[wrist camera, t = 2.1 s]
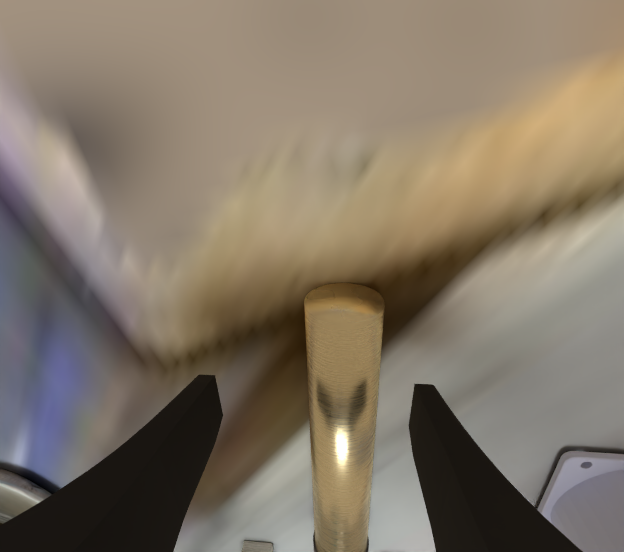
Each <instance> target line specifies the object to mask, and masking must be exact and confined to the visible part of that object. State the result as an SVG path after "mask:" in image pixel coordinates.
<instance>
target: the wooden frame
mask: <svg viewBox="0 0 624 552" xmlns="http://www.w3.org/2000/svg"><path fill="white" fill-rule="evenodd" d="M242 552H273V545H272V543H264V542H254V541H244V544H243V548H242Z"/></svg>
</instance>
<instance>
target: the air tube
mask: <svg viewBox="0 0 624 552" xmlns="http://www.w3.org/2000/svg"><path fill="white" fill-rule="evenodd" d="M304 306H305V328H306V350H307V372H308V394H309V416H310V438H311V460H312V482H313V504H314V526H315V530H314V536H313V542H314V552H368V547H369V540H368V523H369V509H370V495H371V482H372V468H373V454H374V441H375V427H376V414H377V400H378V386H379V373H380V359H381V345H382V332H383V318H384V299H383V297H382V296H381V295H380V294H379V293H378V292H376V291H375V290H373V289H371V288H369V287H366V286H363V285H358V284H352V283H334V284H328V285H324V286H321V287H318V288H316V289H314V290H312V291H311V292H310V293H308V295H307V296H306V297H305V301H304Z"/></svg>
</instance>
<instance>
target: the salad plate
mask: <svg viewBox="0 0 624 552" xmlns="http://www.w3.org/2000/svg"><path fill="white" fill-rule="evenodd" d="M51 495H52V494H51V493H49V492H48V491H46V490H45V489H43V488H41V487H40V486H38V485H36V484H35V483H33V482H31V481H30V480H28V479H26V478H24V477H22V476H20V475H18V474H15V473H13V472H10V471H6V470H3V469H0V525H1V524H3V523H5V522H7V521H9V520H10V519H12V518H14V517H16V516H17V515H19V514H21V513H23V512H24V511H26V510H28V509H29V508H31V507H33V506H34V505H36V504H38V503H39V502H41V501H43V500H44V499H46V498H47V497H49V496H51Z"/></svg>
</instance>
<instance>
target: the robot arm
mask: <svg viewBox="0 0 624 552" xmlns="http://www.w3.org/2000/svg"><path fill="white" fill-rule="evenodd" d="M222 417H223V413H222V408H221V403H220V398H219V393H218V388H217V383H216V378H215V375H198V376H197V377H196V378H195V379H194V380H193V381H192V382H191V383H190V384H189V385H188V386H187V387H186V388H185V389H184V390H183V391H181V392H180V393H179V394H178V395H177V396H176V397H175V398H174V399H173V400H172V401H171V402H170V403H169V404H168V405H167V406H166V407H165V408H164V409H163V410H161V411H160V412H159V413H158V414H157V415H156V416H155V417H154V418H153V419H152V420H151V421H150V422H148V423H147V424H146V425H145V426H144V427H143V428H142V429H140V430H139V431H138V432H137V433H136V434H135V435H133V436H132V437H131V438H130V439H129V440H128V441H126V442H125V443H124V444H123V445H121V446H120V447H119V448H118V449H116V450H115V451H114V452H113V453H111V454H110V455H109V456H107V457H106V458H105V459H103V460H102V461H101V462H99V463H98V464H97V465H95V466H94V467H92V468H91V469H90V470H88V471H87V472H85V473H84V474H82V475H81V476H79V477H78V478H76V479H75V480H73V481H72V482H70V483H69V484H67V485H66V486H64V487H63V488H62V489H60V490H59V491H57V492H55V493H54V494H52V495H51V496H49V497H47V498H46V499H44V500H43V501H41V502H39V503H38V504H36V505H34V506H33V507H31V508H29V509H28V510H26V511H24V512H23V513H21V514H19V515H17V516H16V517H14V518H12V519H10V520H9V521H7V522H5V523H3V524H1V525H0V552H173V551H174V548H175V545H176V541H177V538H178V535H179V532H180V529H181V526H182V523H183V520H184V517H185V515H186V512H187V510H188V507H189V505H190V502H191V500H192V497H193V495H194V493H195V490H196V488H197V485H198V483H199V481H200V478H201V476H202V474H203V471H204V469H205V466H206V464H207V462H208V459H209V457H210V454H211V452H212V449H213V447H214V444H215V442H216V438H217V435H218V432H219V428H220V424H221V421H222ZM409 430H410V438H411V445H412V452H413V457H414V461H415V465H416V469H417V473H418V477H419V481H420V485H421V489H422V493H423V497H424V501H425V505H426V509H427V513H428V517H429V521H430V525H431V529H432V533H433V538H434V543H435V548H436V552H624V454H613V453H597V452H581V451H569V452H566V453H564V454H563V455H562V456H561V458H560V460H559V462H558V464H557V467H556V469H555V471H554V473H553V475H552V478H551V480H550V482H549V484H548V487H547V489H546V491H545V493H544V496H543V498H542V500H541V502H540V504H539V507H538V509H536V508H535V507H534V506H533V505H532V504H531V503H530V502H529V501H528V500H527V499H526V498H524V496H523V495H522V494H521V493H520V492H519V491H518V490H517V489H516V488H515V487H514V486H513V485H512V484H511V483H510V482H509V481H508V480H507V479H506V478H505V476H504V475H503V474H502V473H501V472H500V471H499V470H498V469H497V468H496V466H495V465H494V464H493V463H492V462H491V461H490V459H489V458H488V457H487V456H486V455H485V454H484V452H483V451H482V450H481V449H480V448H479V446H478V445H477V444H476V443H475V441H474V440H473V439H472V438H471V436H470V435H469V434H468V432H467V431H466V430H465V429H464V427H463V426H462V425H461V423H460V422H459V421H458V419H457V418H456V416H455V415H454V414H453V412H452V411H451V410H450V408H449V407H448V405H447V404H446V402H445V401H444V399H443V398H442V397H441V395H440V394H439V392H438V391H437V389H436V387H435V386H434V385H429V384H415V386H414V393H413V400H412V407H411V414H410V421H409Z"/></svg>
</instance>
